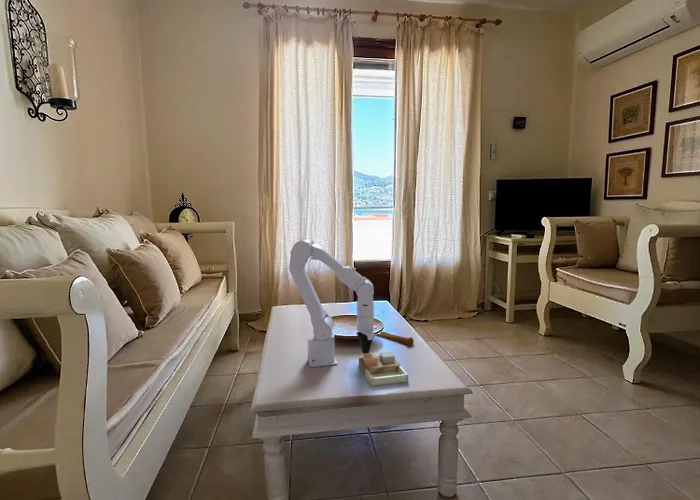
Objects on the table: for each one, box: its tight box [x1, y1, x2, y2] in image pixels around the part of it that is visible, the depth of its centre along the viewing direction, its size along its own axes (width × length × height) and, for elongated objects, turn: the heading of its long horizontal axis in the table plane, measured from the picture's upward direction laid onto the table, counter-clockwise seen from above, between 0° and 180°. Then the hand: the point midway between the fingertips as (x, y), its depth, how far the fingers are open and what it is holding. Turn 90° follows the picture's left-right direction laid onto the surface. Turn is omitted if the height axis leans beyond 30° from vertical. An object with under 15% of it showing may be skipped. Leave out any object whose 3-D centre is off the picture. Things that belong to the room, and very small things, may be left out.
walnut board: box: [358, 355, 402, 376], centre depth 133 cm, size 12×9×3 cm
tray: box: [364, 365, 409, 387], centre depth 125 cm, size 12×7×2 cm, turn 103°
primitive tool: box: [375, 331, 415, 347], centre depth 161 cm, size 19×6×4 cm, turn 43°
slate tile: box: [379, 351, 396, 363], centre depth 134 cm, size 4×4×2 cm
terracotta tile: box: [362, 352, 378, 365], centre depth 133 cm, size 4×4×2 cm
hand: (365, 352), depth 139 cm, fingers closed
